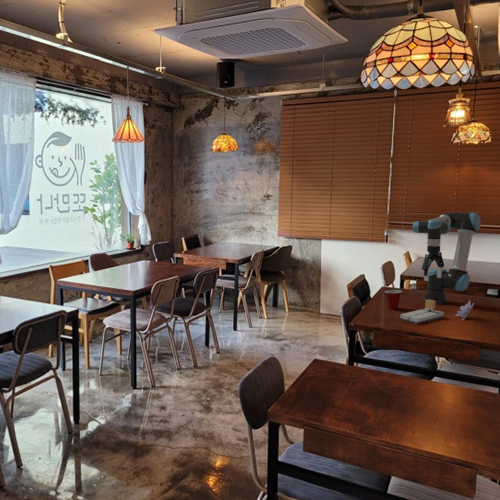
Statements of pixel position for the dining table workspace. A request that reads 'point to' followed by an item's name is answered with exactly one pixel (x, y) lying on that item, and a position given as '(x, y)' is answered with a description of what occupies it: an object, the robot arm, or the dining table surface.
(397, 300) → the plastic cup
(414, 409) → the dining table surface
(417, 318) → the fader console
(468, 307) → the water lily
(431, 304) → the fader knob
